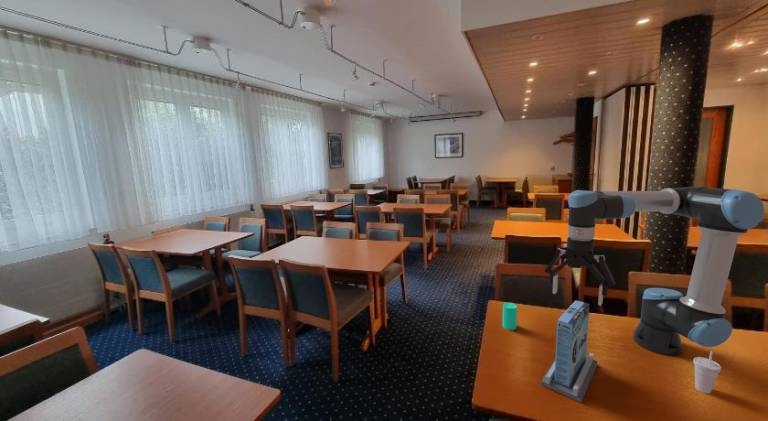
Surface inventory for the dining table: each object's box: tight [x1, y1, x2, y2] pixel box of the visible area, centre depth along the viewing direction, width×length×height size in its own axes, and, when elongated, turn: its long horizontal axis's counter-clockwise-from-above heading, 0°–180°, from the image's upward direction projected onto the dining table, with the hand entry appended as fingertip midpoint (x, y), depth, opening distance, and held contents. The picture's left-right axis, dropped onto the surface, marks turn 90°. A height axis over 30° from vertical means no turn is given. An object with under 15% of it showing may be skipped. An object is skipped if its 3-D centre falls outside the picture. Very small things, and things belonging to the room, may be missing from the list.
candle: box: [502, 302, 518, 331], centre depth 144 cm, size 6×6×12 cm
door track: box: [540, 352, 598, 403], centre depth 112 cm, size 12×24×4 cm, turn 136°
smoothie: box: [692, 350, 722, 395], centre depth 102 cm, size 6×6×14 cm
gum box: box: [554, 300, 590, 388], centre depth 111 cm, size 19×5×23 cm, turn 133°
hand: (576, 297), depth 108 cm, fingers open, 13 cm apart
